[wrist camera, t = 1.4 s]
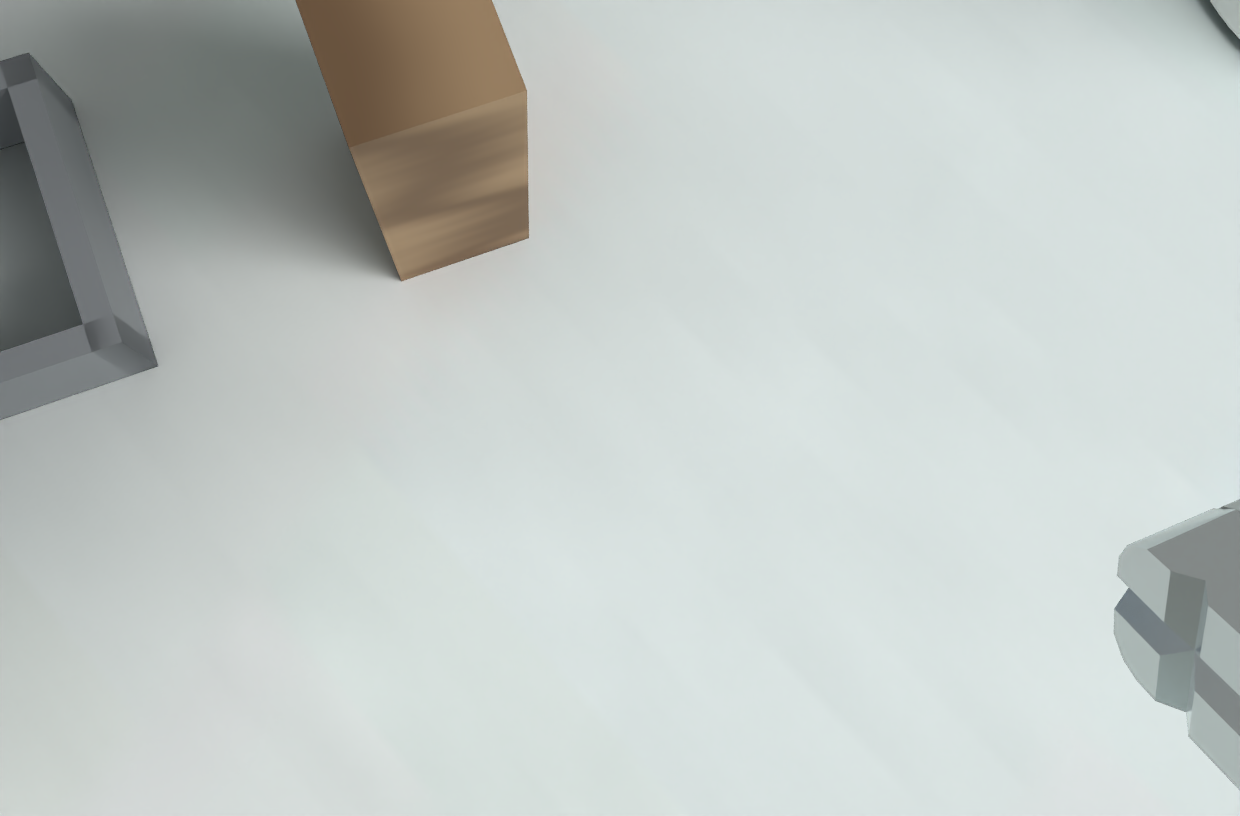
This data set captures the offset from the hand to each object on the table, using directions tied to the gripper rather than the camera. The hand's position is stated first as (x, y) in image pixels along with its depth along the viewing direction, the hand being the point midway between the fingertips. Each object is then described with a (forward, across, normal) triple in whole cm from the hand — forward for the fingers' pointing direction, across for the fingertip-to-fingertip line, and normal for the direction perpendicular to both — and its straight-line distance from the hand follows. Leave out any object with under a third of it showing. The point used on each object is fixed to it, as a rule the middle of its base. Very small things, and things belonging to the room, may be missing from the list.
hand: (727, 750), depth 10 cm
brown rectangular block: (+27, -1, +6) cm, 27 cm away
